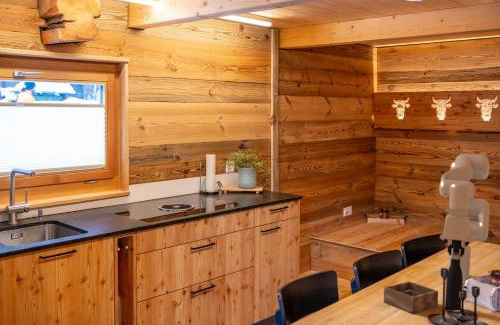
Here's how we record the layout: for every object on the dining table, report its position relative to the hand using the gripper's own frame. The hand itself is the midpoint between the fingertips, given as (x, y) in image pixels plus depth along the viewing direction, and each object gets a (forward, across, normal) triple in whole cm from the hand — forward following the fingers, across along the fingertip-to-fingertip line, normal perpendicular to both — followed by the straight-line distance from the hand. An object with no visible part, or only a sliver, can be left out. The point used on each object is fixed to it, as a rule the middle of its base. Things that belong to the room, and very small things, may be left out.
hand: (455, 255), depth 243 cm
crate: (+24, -17, -3) cm, 30 cm away
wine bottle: (+24, 0, 0) cm, 24 cm away
